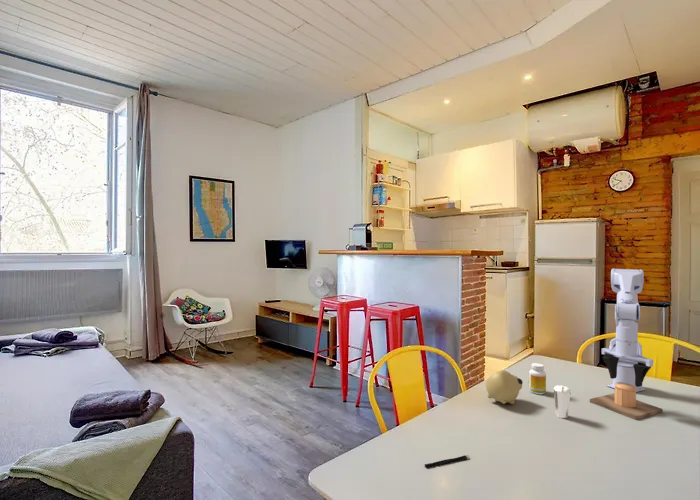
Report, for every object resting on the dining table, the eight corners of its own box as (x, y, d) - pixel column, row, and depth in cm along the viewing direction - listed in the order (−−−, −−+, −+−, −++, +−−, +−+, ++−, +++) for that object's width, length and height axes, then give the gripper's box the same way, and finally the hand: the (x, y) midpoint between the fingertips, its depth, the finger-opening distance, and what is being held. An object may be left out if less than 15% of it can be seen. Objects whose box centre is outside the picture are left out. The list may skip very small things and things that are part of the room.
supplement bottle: (548, 395, 132) (549, 367, 132) (533, 394, 132) (533, 367, 132) (541, 389, 137) (541, 362, 137) (526, 388, 137) (526, 362, 137)
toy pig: (528, 403, 125) (528, 371, 125) (506, 411, 118) (506, 377, 118) (501, 393, 133) (502, 363, 133) (479, 400, 126) (480, 369, 126)
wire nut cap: (621, 399, 127) (621, 381, 127) (639, 405, 121) (640, 387, 121) (610, 401, 124) (610, 383, 124) (628, 408, 119) (629, 389, 119)
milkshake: (553, 418, 114) (554, 385, 114) (553, 411, 119) (553, 379, 118) (570, 421, 112) (571, 388, 112) (569, 414, 116) (570, 382, 116)
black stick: (467, 458, 92) (467, 453, 92) (470, 460, 92) (470, 456, 92) (424, 467, 88) (424, 463, 88) (426, 469, 87) (426, 465, 87)
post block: (615, 395, 132) (616, 381, 132) (662, 412, 119) (662, 396, 119) (589, 401, 126) (590, 387, 126) (635, 419, 114) (635, 403, 114)
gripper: (596, 336, 128) (595, 376, 128) (644, 347, 114) (643, 391, 115) (609, 334, 131) (608, 373, 131) (657, 344, 117) (656, 388, 117)
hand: (625, 381), depth 123 cm, fingers open, 7 cm apart
